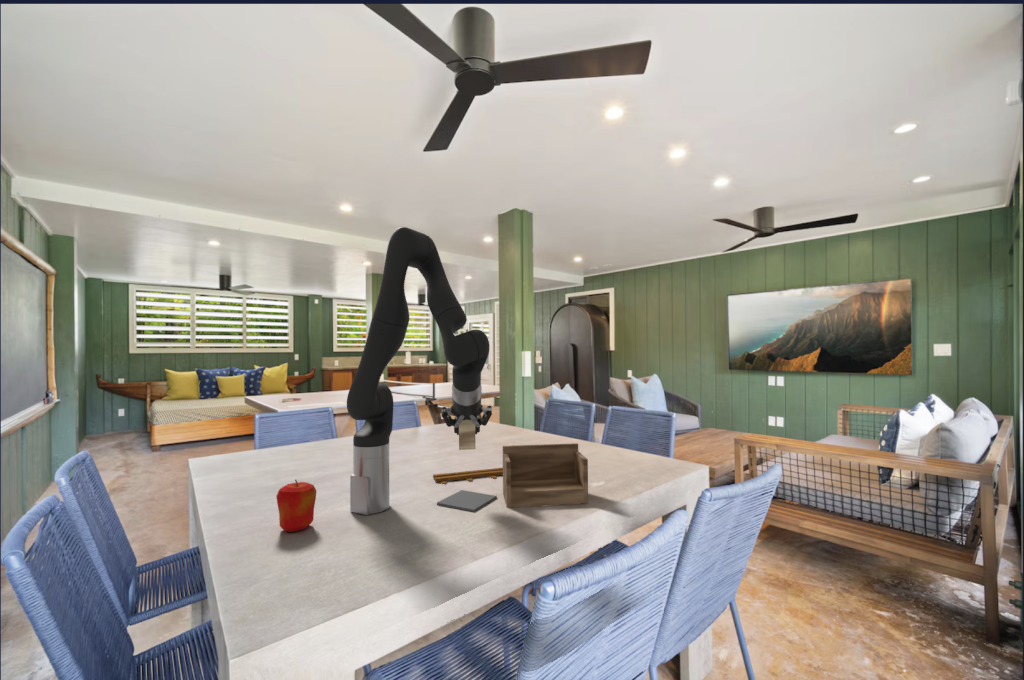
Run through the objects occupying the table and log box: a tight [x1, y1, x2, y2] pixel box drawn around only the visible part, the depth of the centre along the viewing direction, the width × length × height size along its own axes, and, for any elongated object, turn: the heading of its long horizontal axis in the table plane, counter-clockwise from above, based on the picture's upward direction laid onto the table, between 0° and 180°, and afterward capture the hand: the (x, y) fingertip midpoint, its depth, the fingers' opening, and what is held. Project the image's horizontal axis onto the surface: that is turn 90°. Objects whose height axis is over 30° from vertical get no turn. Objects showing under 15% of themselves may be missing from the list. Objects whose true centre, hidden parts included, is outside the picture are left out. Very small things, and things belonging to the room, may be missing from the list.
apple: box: [275, 479, 317, 533], centre depth 105 cm, size 9×8×12 cm
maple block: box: [458, 420, 476, 451], centre depth 123 cm, size 4×4×10 cm
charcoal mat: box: [436, 489, 498, 513], centre depth 123 cm, size 12×12×1 cm
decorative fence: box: [432, 467, 503, 485], centre depth 147 cm, size 25×2×10 cm
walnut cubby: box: [502, 443, 589, 508], centre depth 125 cm, size 11×22×14 cm, turn 96°
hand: (466, 431), depth 125 cm, fingers closed on maple block, 4 cm apart
